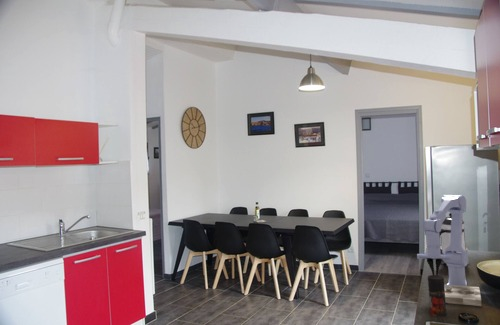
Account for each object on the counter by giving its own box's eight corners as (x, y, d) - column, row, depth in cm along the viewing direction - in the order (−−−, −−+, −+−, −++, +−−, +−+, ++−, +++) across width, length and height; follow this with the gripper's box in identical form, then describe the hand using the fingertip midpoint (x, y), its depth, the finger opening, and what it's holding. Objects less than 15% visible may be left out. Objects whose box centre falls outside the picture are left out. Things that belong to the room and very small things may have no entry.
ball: (444, 289, 182) (444, 282, 182) (452, 290, 181) (451, 283, 181) (444, 291, 180) (444, 284, 180) (452, 292, 178) (451, 285, 178)
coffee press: (438, 260, 241) (435, 211, 241) (468, 261, 234) (464, 211, 234) (438, 267, 226) (434, 215, 226) (470, 269, 219) (466, 215, 219)
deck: (438, 289, 190) (438, 284, 190) (479, 292, 182) (479, 287, 182) (437, 301, 174) (436, 296, 174) (481, 306, 166) (481, 300, 166)
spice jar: (427, 312, 163) (424, 276, 163) (438, 310, 165) (435, 274, 165) (438, 317, 158) (435, 280, 158) (449, 314, 160) (447, 277, 160)
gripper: (415, 246, 183) (417, 276, 182) (450, 248, 176) (452, 278, 176) (417, 243, 189) (418, 272, 189) (451, 244, 182) (453, 274, 182)
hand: (435, 274), depth 183 cm, fingers closed
